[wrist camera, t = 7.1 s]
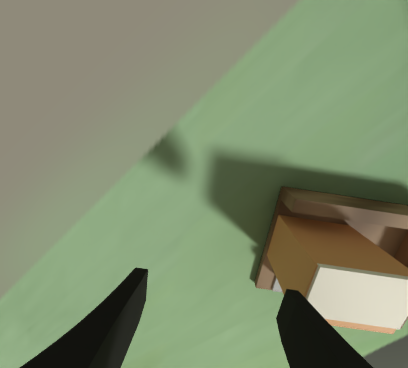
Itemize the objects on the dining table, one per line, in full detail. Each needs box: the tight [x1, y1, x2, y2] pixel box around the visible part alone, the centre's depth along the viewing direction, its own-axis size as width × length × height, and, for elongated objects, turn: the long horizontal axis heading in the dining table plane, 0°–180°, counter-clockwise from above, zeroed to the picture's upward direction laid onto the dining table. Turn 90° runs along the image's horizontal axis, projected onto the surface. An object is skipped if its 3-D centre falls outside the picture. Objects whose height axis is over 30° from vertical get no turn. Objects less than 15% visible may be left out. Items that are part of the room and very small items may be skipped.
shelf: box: [255, 186, 408, 329], centre depth 16 cm, size 12×10×3 cm
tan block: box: [267, 215, 408, 334], centre depth 14 cm, size 6×4×6 cm
